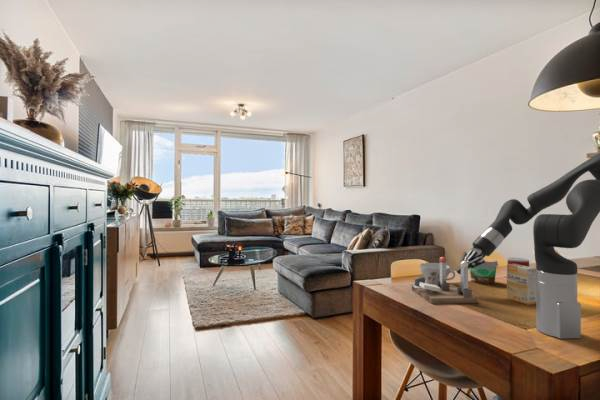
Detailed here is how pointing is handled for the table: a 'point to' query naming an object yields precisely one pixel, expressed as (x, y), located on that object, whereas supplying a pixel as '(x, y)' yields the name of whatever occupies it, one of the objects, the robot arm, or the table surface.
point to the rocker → (430, 287)
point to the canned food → (518, 261)
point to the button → (419, 280)
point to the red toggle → (442, 270)
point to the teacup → (434, 272)
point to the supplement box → (521, 283)
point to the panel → (445, 294)
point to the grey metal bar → (464, 276)
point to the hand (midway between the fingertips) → (458, 273)
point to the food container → (484, 273)
